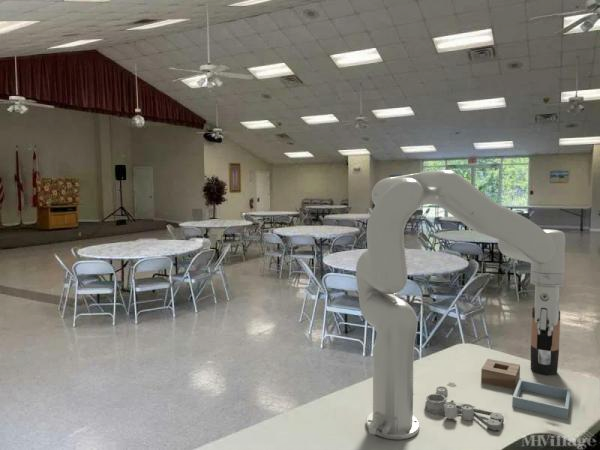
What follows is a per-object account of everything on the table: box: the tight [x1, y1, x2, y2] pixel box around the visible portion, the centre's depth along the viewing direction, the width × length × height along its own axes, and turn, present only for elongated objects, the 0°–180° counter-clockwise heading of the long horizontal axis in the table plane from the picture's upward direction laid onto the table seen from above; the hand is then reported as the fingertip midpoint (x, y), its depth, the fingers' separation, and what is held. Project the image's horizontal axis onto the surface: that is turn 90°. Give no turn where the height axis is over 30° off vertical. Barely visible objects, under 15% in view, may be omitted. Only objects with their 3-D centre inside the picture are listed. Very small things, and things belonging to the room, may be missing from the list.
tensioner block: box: [480, 358, 521, 391], centre depth 135 cm, size 9×9×5 cm
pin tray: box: [511, 378, 571, 420], centre depth 121 cm, size 12×12×4 cm
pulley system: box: [424, 381, 505, 431], centre depth 121 cm, size 27×5×15 cm
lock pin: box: [537, 325, 553, 365], centre depth 120 cm, size 4×4×10 cm
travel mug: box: [530, 306, 561, 377], centre depth 140 cm, size 8×8×20 cm
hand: (544, 347), depth 120 cm, fingers closed on lock pin, 2 cm apart
